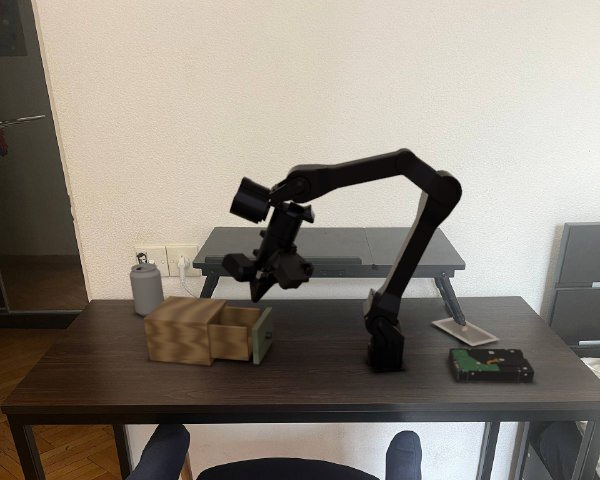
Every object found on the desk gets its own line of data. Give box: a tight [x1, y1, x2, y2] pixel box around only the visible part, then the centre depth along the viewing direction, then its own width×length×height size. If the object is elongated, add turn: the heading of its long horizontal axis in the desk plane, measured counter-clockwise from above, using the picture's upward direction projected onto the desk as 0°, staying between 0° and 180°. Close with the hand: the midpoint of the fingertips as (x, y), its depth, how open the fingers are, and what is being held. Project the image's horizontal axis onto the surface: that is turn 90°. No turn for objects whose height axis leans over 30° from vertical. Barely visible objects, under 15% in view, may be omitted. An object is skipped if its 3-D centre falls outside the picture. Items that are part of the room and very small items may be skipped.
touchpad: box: [430, 316, 501, 347], centre depth 133 cm, size 8×15×2 cm, turn 25°
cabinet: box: [143, 295, 228, 366], centre depth 126 cm, size 14×14×10 cm
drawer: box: [208, 306, 274, 365], centre depth 124 cm, size 14×12×8 cm
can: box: [128, 262, 165, 317], centre depth 145 cm, size 8×8×12 cm
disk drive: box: [448, 347, 535, 383], centre depth 117 cm, size 10×3×15 cm
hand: (253, 301), depth 117 cm, fingers closed
